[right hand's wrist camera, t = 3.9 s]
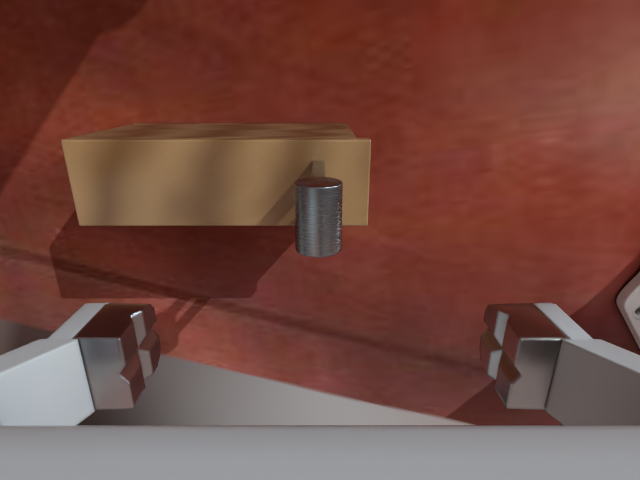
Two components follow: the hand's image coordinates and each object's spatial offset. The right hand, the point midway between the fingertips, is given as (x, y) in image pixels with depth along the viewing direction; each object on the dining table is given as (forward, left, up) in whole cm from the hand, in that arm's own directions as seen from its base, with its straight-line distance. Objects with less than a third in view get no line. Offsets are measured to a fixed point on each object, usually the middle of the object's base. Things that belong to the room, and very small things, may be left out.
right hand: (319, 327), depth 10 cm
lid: (+2, +5, -16) cm, 18 cm away
